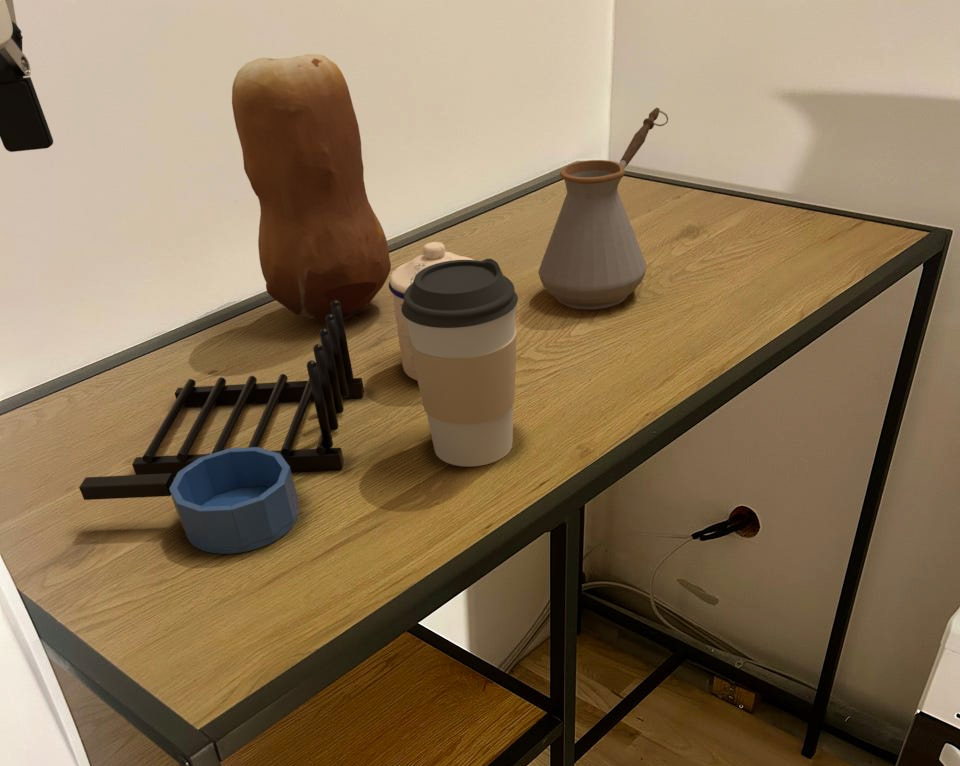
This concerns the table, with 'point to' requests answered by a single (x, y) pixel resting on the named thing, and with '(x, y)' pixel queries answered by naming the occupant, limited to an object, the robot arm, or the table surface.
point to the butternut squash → (309, 185)
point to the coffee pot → (595, 235)
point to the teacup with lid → (403, 280)
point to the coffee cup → (465, 357)
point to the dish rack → (270, 407)
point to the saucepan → (218, 498)
